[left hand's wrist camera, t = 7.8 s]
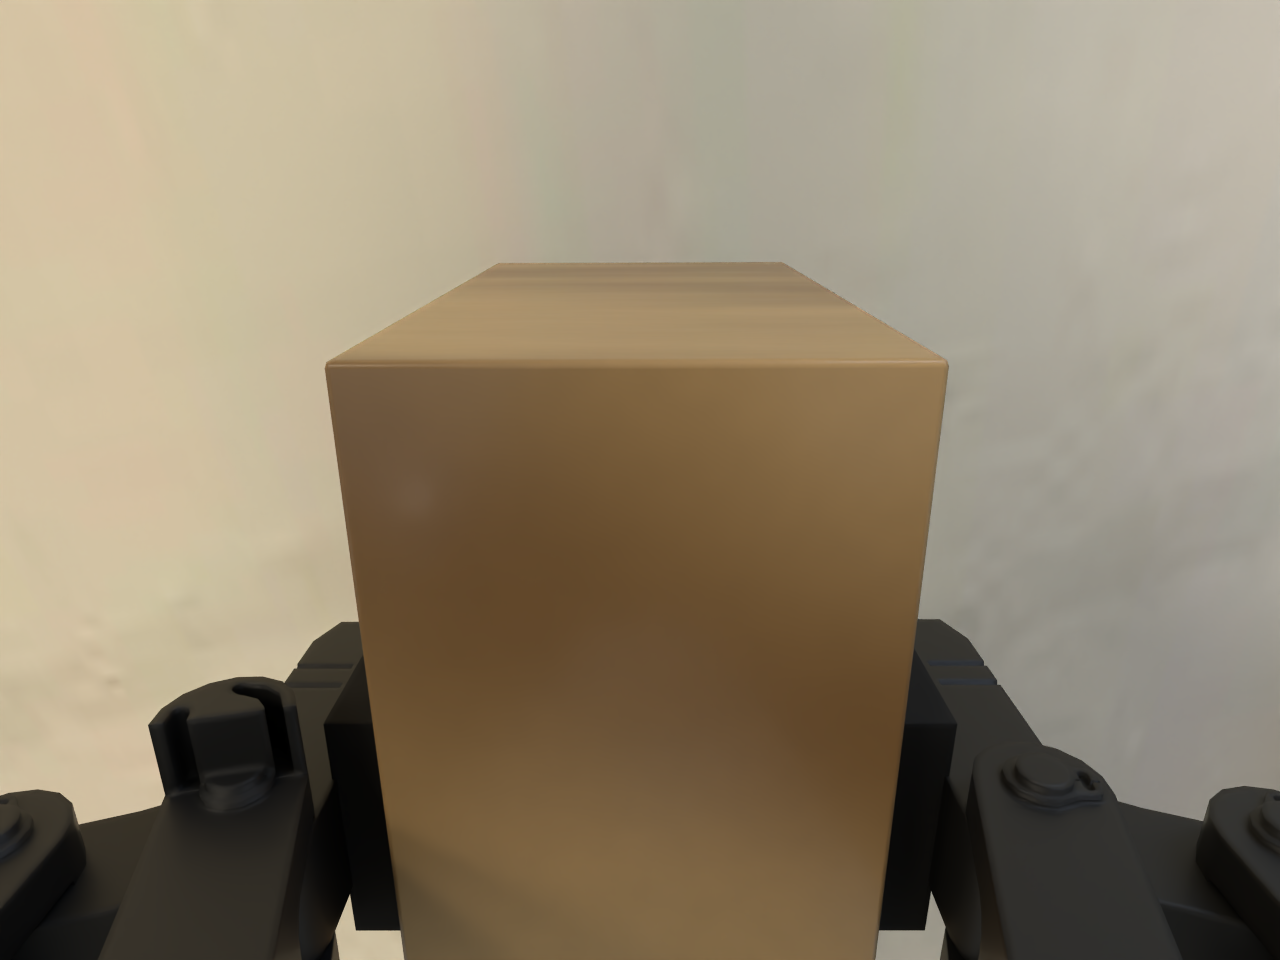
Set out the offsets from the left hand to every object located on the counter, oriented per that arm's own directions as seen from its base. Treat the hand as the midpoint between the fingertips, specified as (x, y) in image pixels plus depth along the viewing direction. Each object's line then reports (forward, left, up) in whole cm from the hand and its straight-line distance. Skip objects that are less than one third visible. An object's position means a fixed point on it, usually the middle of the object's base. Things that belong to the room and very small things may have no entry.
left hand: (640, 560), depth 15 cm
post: (+14, -15, -1) cm, 20 cm away
